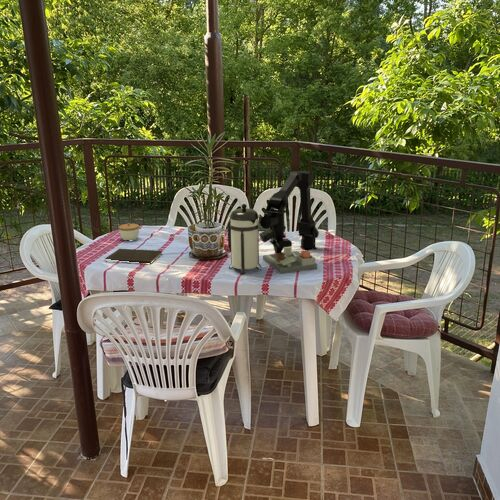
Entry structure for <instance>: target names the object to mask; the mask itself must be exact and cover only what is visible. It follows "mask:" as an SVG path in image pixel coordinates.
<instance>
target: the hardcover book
mask: <svg viewBox="0 0 500 500" xmlns="http://www.w3.org/2000/svg"><path fill="white" fill-rule="evenodd" d="M162 253H163V250H155V249H153V250H152V249H149V250H148V249H130V248H118V249H117V250H115V251H114V252H112V253H111V254H109V255H108V256H106V257H105V258H104V260H105V259H111V260H119V261H129V262H139V263H151V262H152V261H153V260H155V259H156V258H157V257H158V258H160V257H161V256H162V255H161V254H162ZM160 255H161V256H160ZM159 256H160V257H159ZM158 258H157V259H158ZM157 259H156V260H157ZM156 260H155V261H156ZM152 263H153V262H152ZM152 263H151V264H152Z"/></svg>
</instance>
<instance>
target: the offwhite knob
mask: <svg viewBox="0 0 500 500" xmlns="http://www.w3.org/2000/svg"><path fill="white" fill-rule="evenodd" d="M292 248H293V247H292V246H291V247H284V248H283V252H284V255H286V256H290V255H292V252H293V249H292Z"/></svg>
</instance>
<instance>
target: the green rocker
mask: <svg viewBox="0 0 500 500" xmlns="http://www.w3.org/2000/svg"><path fill="white" fill-rule="evenodd" d="M294 261H295V258H293V257H292V256H291V257H289V258H286V259H284V260H282V261H280V263H281V264H282V265H283V266H284V265H286V264H289V263H291V262H294Z"/></svg>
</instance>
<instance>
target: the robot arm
mask: <svg viewBox="0 0 500 500" xmlns="http://www.w3.org/2000/svg"><path fill="white" fill-rule="evenodd" d="M314 179H315V176H314V173H313V172H311V171H302V170H298V171H290V173H289V176H288V177H287V179H286V180H285V182H284V183H283V185H282V186H281V188H280V189H279V191H277V192H275V193H273V194H272V195H271V197H269V200H268V203H267V205H266V206H265V207H266V208H265V210H264V212H265V213H263V216H261V218H260V221H259V225H260V226H261V227H262V228H263V229H264V231H262V232H259V239H260V241H261V242H263V243H267V242H268V241H269V243H270V244H272V246H273V250H274V254H275V253H280V252H283V251H284V247H292V246H293V245H292V244H293V242H292V240H290V239H288V238H287V235H285V230H286V226H285V214H286V213H287V211H286V208H287V206H288V203H289V197H290V195H291V194H292V192H293V191H294V189H295V187H297V188H298V190H299V197H300V198H299V199H300V213H301V214H300V216H301V217H300V220H299V222H297V231H298V236H299V237H301V239H300V248H302V249H303V250H304V251H310V250H316V249H318V248H317V246H316V240H317V239H316V238H319V233H320V231H319V230H318V229H317V227H316V223H315V220H314V218H313V217H312V205H311V204H312V201H311V188H312V187H313V185H314Z"/></svg>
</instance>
